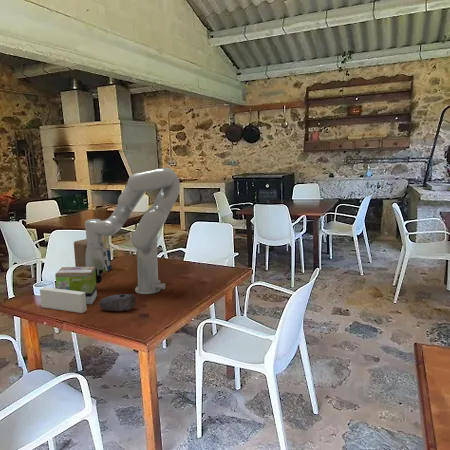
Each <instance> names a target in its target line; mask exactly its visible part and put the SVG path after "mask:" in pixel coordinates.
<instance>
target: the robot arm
mask: <svg viewBox="0 0 450 450" xmlns="http://www.w3.org/2000/svg"><path fill="white" fill-rule="evenodd" d="M180 189H181V184H180V179H179V177H178V175H177V174H176V172H175V171H174V170H173V169H172V168H170V167H162V168H157V169H153V170H148V171H144V172H136V173H133V174H131V175H130V176H129V177H128V179H127V185H126V187H125V188H124V189H123V191H122V192H121V193H120V195H119V197H118V199H117V205H116V207H115V209H114V210H113V212H112V213H111V215H110V216H109V217H108V218H106V219H105V220H101V219H100V218H92V219H87V220H86V221H85V223H84V224H85V225H84V226H85V227H84V228H85V237H86V238H85V239H86V240H87V248H86V255H85V261H86V267H95V271H96V285H97V284H100V283H101V282H102V279H103V278H102V276H101V274H102V275H103V273H106V272H109V271H108V270H107V267H108V266H109V262H108V255H107V251H106V248H107V247H106V243H105V242H104V236H105V237H111V236H114V235H115V234H116V233H117V232H119V231H120V230H121V229H122V227H123V226H124V225H125V224H126V222H127V220H128V219H129V217H130V216H131V214H132V212H133V211H134V209H135V208H136V206H137V205H138V203H139V202H140V200H141V199H142V198H143V196H144V194H146V192H150V191H154V190H160V191H159V193H158V194H157V196H156V197H155V200H154V202H153V203H152V204H151V206H150V207H149V208H148V209H147V210H146V211H145V212H144V214H143V215H142V217H141V219H140V220H139V222H138V223H137V226H136V228H135V229H134V231H133V233H132V236H131V243H132V245H133V247H134V248H135V249H136V265H137V266H136V267H137V286H136V287H135V288H134V291H135V292H136V294H139V295H153V294H157V293H159V292H161V291H162V290H165V289H166V283H161V280H160V279H159V270H158V269H159V268H158V234H159V232H160V230H161V229H162V228H163V225H164V224H165V223H166V221H167V218H168V216H169V215H170V212H171V210H172V209H173V207H174V205H175V203H176V201H177V199H178V197H179V194H180ZM161 289H162V290H161ZM160 290H161V291H160Z"/></svg>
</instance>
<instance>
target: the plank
mask: <svg viewBox="0 0 450 450" xmlns="http://www.w3.org/2000/svg"><path fill="white" fill-rule="evenodd" d="M39 295H40V298H39V299H40V306H41V308H46V309H53V310H60V311H66V312H72V313H73V312H74V313H80V314H83V313H85V312H86V311H87V310H88V309H87V304H86V294H85V292H80V291H72V290H64V289H56V287H47V286H44V287H41V288H40V289H39Z"/></svg>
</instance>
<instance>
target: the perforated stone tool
mask: <svg viewBox="0 0 450 450" xmlns="http://www.w3.org/2000/svg"><path fill="white" fill-rule="evenodd" d="M135 305H136V296H135V295H134V294H131V293H130V294H129V293H128V294H126V293H125V294H122V293H120V294H113V295H107V296H105V297H103V298H101V299H100V300H99V307H100V308H101V309H102V310H104V311H108V312H110V311H113V312H124V311H130V310H132V309H133V308H134V307H135Z"/></svg>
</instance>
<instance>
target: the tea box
mask: <svg viewBox="0 0 450 450" xmlns="http://www.w3.org/2000/svg"><path fill="white" fill-rule="evenodd" d="M55 288H56V289H64V290H72V291H80V292H85V294H86V305H93V303H94V301H95V300H96V297H97V296H98V293H97V291H98V290H97V283H96V271H95V267H75V266H62V267H61V268H59V270H58V271H57V272H55Z"/></svg>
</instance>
